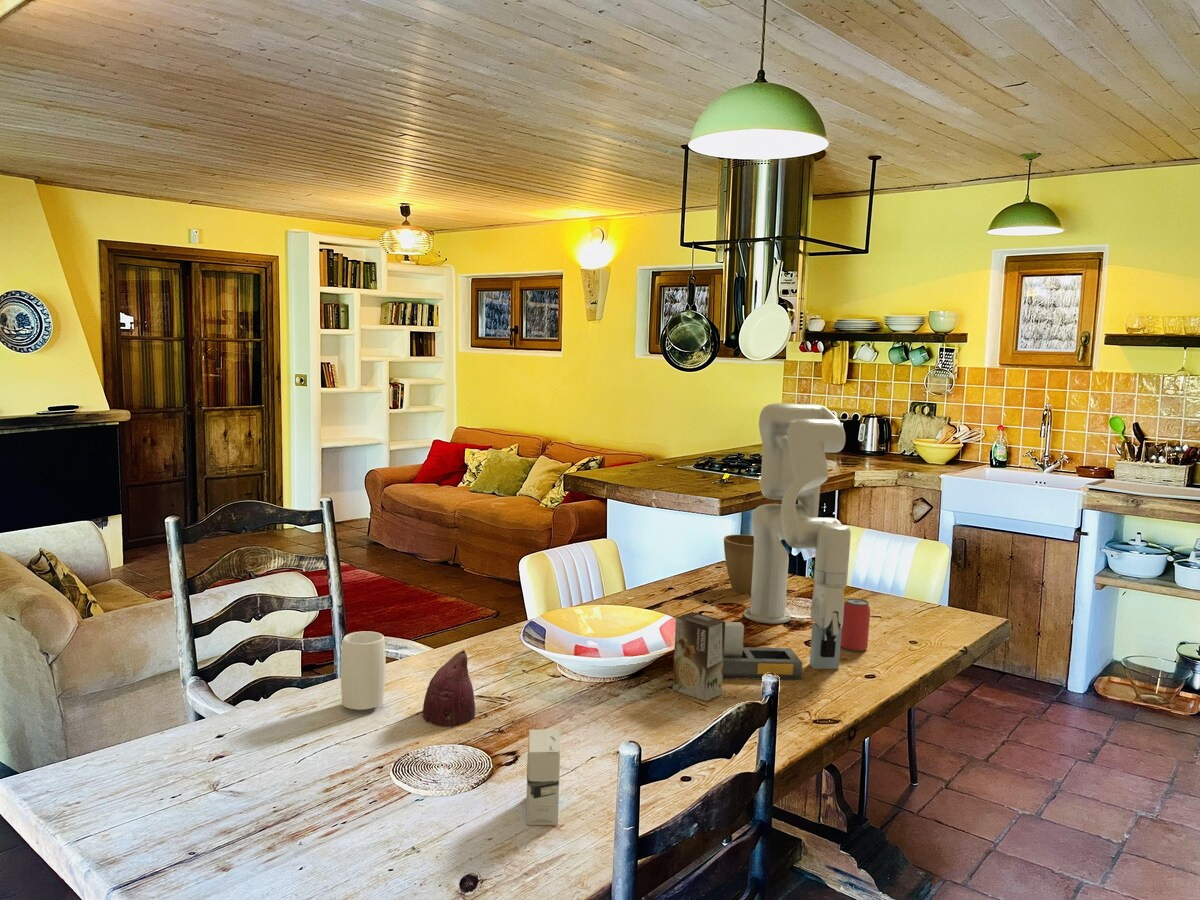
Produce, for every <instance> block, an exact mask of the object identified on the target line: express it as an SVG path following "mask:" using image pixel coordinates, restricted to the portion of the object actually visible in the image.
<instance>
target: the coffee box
mask: <svg viewBox="0 0 1200 900" xmlns="http://www.w3.org/2000/svg"><path fill="white" fill-rule="evenodd" d="M725 622H726V621H725V620H721V619H718V618H715V617H710V616H707V615H704V614H701V613H697V612H694V611H692V612H689V613H688V612H687V613H684V614H681V615H680V616H677V617H675V627H674V628H675V629H674V650H673V651H674V652H673V653H674V654H673V672H672V673H673V676H672V690H673V691H675V692H679V693H681V694H684V695H687V696H689V697H692V698H695V697H696V698H695V699H698V700H700V699H701V701H703V700H704V702H708V701H710V700H712V699H711V698H713V699H715V698H717V697H719V696H721V695H723V678H722V677H723V658H724V639H725ZM718 695H719V696H718ZM716 696H717V697H716ZM714 697H715V698H714ZM709 699H710V700H709ZM707 700H708V701H707Z"/></svg>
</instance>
